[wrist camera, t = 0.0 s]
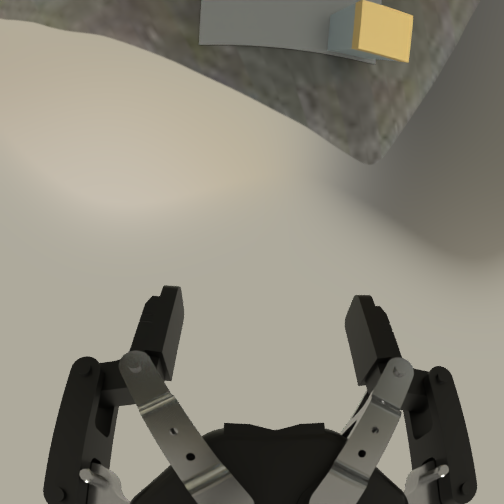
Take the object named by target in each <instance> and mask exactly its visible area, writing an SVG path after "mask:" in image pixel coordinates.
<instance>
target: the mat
mask: <svg viewBox="0 0 504 504" xmlns="http://www.w3.org/2000/svg"><path fill="white" fill-rule="evenodd" d="M359 1H361V0H202V1H201V16H200V33H199V45H247V46H263V47H276V48H286V49H294V50H302V51H309V52H316V53H322V54H328V55H333V56H339V57H344V58H349V59H353V60H358V61H362V62H366V63H370V64H375V63H376V59H367V58H361V57H357V56H352V55H348V54H343V53H338V52H333V51H327V48H328V38H329V27H330V16H331V15H332V14H334V13H336V12H338V11H340V10H342V9H344V8H346V7H348V6H350V5H352V4H354V3H356V2H359ZM366 1H370V2H373V3H376V4H380V5H381V2H382V0H366Z"/></svg>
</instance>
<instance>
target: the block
mask: <svg viewBox="0 0 504 504" xmlns="http://www.w3.org/2000/svg"><path fill="white" fill-rule="evenodd" d="M412 24H413V16H412V15H409V14H406V13H404V12H401V11H398V10H395V9H392V8H389V7H386V6H383V5H380V4H376V3H373V2H370V1H366V0H361V1H359V2H356V3H354V4H352V5H350V6H348V7H346V8H344V9H342V10H340V11H338V12H336V13H334V14H332V15H331V16H330V27H329V38H328V48H327V51H333V52H338V53H343V54H348V55H352V56H357V57H361V58H367V59H380V60H391V61H400V62H408V61H409V53H410V45H411V35H412Z"/></svg>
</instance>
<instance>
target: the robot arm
mask: <svg viewBox="0 0 504 504" xmlns="http://www.w3.org/2000/svg"><path fill="white" fill-rule="evenodd" d="M183 319H184V307H183V300H182V293H181V288H180V287H178V286H163V289H162V292H161V295H160V296H159V297H158V296H152V297H151V298H150V299H149V300H148V301H147V302H146V304H145V307H144V309H143V312H142V315H141V318H140V322H139V324H138V327H137V330H136V333H135V337H134V339H133V342H132V346H131V348H130V351H129V352H128V353H126V354H125V355H124V356H123V357H122V358H121V359H120V360H117V361H112V362H105V363H99V362H98V361H97V360H96V359H94V358H92V357H82V358H79V359H78V360H77V361H75V363H74V364H73V365H72V368H71V371H70V374H69V377H68V381H67V384H66V387H65V391H64V394H63V398H62V401H61V405H60V409H59V413H58V417H57V421H56V425H55V429H54V433H53V438H52V442H51V447H50V452H49V458H48V463H47V469H46V475H45V482H44V488H43V489H44V490H43V492H44V497H45V499H46V501H47V502H48V504H465V503H468V502H469V501H470V500H472V498H473V497H474V495H475V493H476V490H477V481H476V474H475V469H474V462H473V457H472V452H471V447H470V442H469V437H468V433H467V428H466V424H465V420H464V416H463V412H462V408H461V405H460V401H459V398H458V395H457V391H456V388H455V384H454V381H453V378H452V375H451V373H450V372H449V371H448V370H447V369H446V368H444V367H441V366H436V367H434V368H432V369H431V370H430V372H427V371H422V370H417V369H414V368H413V367H412V365H411V364H410V363H409V362H408V361H407V360H405V359H403V358H402V356H401V354H400V351H399V348H398V345H397V342H396V339H395V336H394V333H393V332H392V328H391V325H390V324H389V323H390V322H389V320H388V317H387V314H386V313H385V312H384V311H383V310H382V308H381V307H380V306H375V304H374V301H373V299H372V297H371V296H370V295H355V296H354V298H353V300H352V303H351V306H350V308H349V311H348V313H347V315H346V319H345V330H346V334H347V338H348V342H349V346H350V350H351V355H352V359H353V364H354V368H355V372H356V377H357V382H358V386H362V385H366V387H367V391H366V392H365V394H364V396H363V398H362V400H361V401H360V403H359V405H358V407H357V408H356V410H355V412H354V413H353V415H352V417H351V418H350V420H349V422H348V423H347V424H346V426H345V427H344V428H343V430H342V431H341V433H340V434H339V433H337V432H335V431H332V430H329V429H325V427H324V423H312V424H299V425H295V426H292V427H288V428H284V429H280V430H271V429H266V428H263V427H258V426H254V425H250V424H233V423H224V428H223V429H218V430H214V431H212V432H209V433H207V434H205V435H203V436H201V435H200V433H199V432H198V431H197V429H196V428H195V426H194V425H193V424H192V422H191V421H190V419H189V418H188V416H187V415H186V413H185V412H184V410H183V409H182V407H181V406H180V404H179V402H178V401H177V399H176V398H175V397H174V396H173V395H172V394H171V393H170V391H169V389H168V388H167V386H166V385H165V383H164V381H165V380H166V381H171V380H172V375H173V370H174V365H175V359H176V354H177V349H178V344H179V340H180V335H181V330H182V325H183ZM131 404H136V405H137V406H138V409H139V412H140V414H141V416H142V418H143V419H144V421H145V423H146V425H147V427H148V428H149V430H150V432H151V433H152V435H153V437H154V439H155V440H156V442H157V444H158V445H159V447H160V449H161V450H162V452H163V453H164V455H165V457H166V458H167V460H168V461H169V463H170V464H171V465H170V466H169V467H168V468H167V469H166V470H165V471H164V472H162V473H161V474H160V475H159V476H158V477H157V478H156V479H154V480H153V481H152V482H151V483H150V484H149V485H148V486H147V487H145V488H144V489H143V490H142V491H141V492H139V493H138V494H137V495H136V496H135V497H134V498H133V499H132V501H131V502H130V501H128V500H127V499H126V498H125V496H124V495H123V493H122V490H121V482H120V480H119V478H118V476H117V475H116V474H115V473H114V472H112V471H110V470H109V467H110V459H111V451H112V444H113V438H114V431H115V425H116V419H117V414H118V408H119V406H123V405H131ZM400 410H403V412H404V418H405V423H406V429H407V435H408V442H409V448H410V455H411V462H412V471H411V472H410V474H409V475H408V477H407V480H406V484H405V491H404V492H403V491H402V490H401V489H399V488H398V487H397V486H396V485H395V484H394V483H393V482H392V481H391V480H390V479H389V478H387V477H386V476H385V475H384V474H383V473H382V472H381V471H380V470H379V469H378V468H377V467H376V465H377V464H378V462H379V460H380V458H381V456H382V454H383V452H384V450H385V449H386V447H387V444H388V443H389V441H390V438H391V437H392V434H393V432H394V430H395V428H396V426H397V424H398V422H399V419H400V417H401V411H400Z"/></svg>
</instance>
